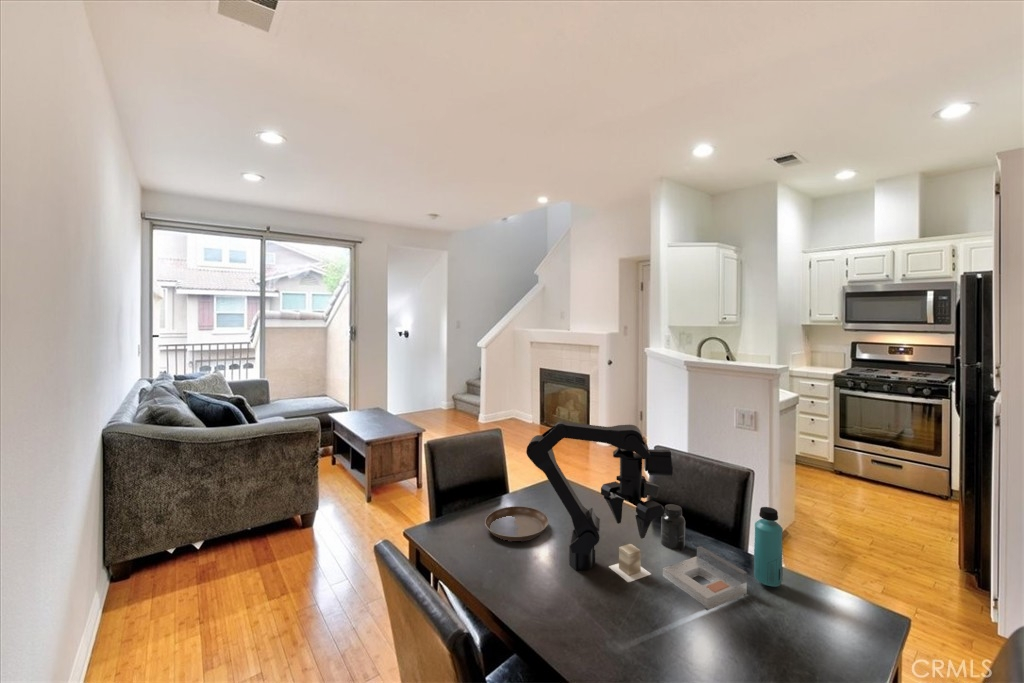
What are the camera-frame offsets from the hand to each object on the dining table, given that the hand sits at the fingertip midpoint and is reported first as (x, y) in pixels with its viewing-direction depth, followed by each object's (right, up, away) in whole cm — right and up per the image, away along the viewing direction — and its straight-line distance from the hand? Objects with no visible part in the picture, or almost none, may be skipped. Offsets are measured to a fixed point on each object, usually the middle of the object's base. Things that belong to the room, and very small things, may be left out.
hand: (630, 530), depth 119 cm
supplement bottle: (+17, -11, +14) cm, 25 cm away
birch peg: (0, -11, +1) cm, 11 cm away
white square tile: (0, -12, +1) cm, 12 cm away
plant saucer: (-30, -11, +26) cm, 41 cm away
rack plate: (+17, -12, -5) cm, 22 cm away
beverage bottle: (+34, -12, -5) cm, 36 cm away
